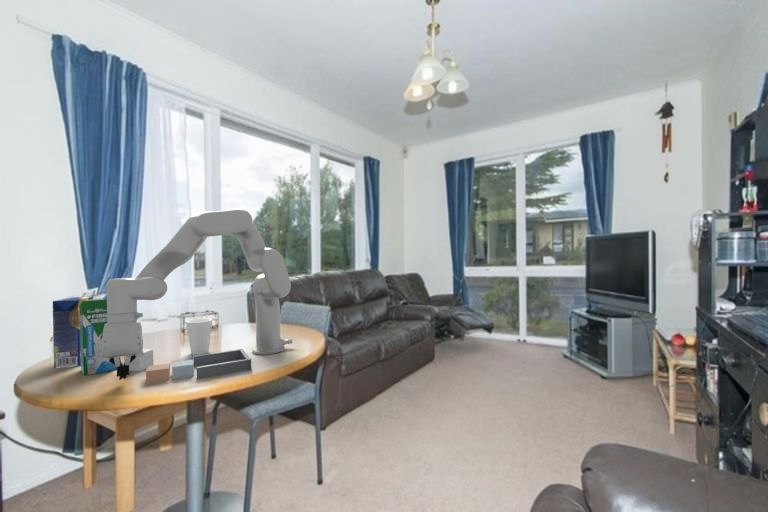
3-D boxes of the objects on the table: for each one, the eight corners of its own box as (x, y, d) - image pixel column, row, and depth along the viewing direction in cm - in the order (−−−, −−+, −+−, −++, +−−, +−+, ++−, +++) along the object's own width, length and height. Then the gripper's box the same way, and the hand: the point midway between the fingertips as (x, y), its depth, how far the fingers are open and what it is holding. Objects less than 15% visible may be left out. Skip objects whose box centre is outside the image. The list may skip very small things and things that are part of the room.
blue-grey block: (193, 371, 124) (193, 359, 124) (193, 376, 118) (193, 364, 118) (173, 374, 121) (173, 362, 121) (172, 379, 116) (172, 367, 116)
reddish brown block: (170, 375, 120) (169, 363, 120) (168, 380, 115) (168, 368, 115) (148, 378, 117) (148, 366, 117) (146, 384, 112) (145, 371, 112)
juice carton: (79, 366, 131) (77, 300, 131) (54, 368, 129) (52, 301, 129) (94, 357, 142) (93, 296, 142) (71, 359, 140) (70, 297, 140)
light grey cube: (139, 371, 124) (139, 354, 124) (124, 371, 125) (124, 353, 125) (153, 366, 130) (153, 349, 130) (138, 365, 131) (138, 349, 131)
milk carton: (112, 364, 133) (111, 296, 133) (117, 369, 126) (115, 298, 126) (80, 370, 127) (79, 298, 126) (83, 376, 120) (81, 300, 120)
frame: (242, 358, 138) (242, 348, 138) (251, 369, 124) (251, 359, 124) (193, 365, 129) (193, 355, 129) (196, 378, 115) (196, 368, 115)
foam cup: (205, 355, 143) (204, 322, 142) (182, 355, 143) (181, 322, 143) (217, 349, 152) (216, 318, 152) (195, 349, 152) (194, 318, 152)
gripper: (151, 314, 118) (152, 370, 118) (93, 319, 111) (94, 378, 111) (150, 317, 112) (151, 376, 112) (89, 322, 104) (90, 386, 104)
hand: (123, 377), depth 111 cm, fingers closed
